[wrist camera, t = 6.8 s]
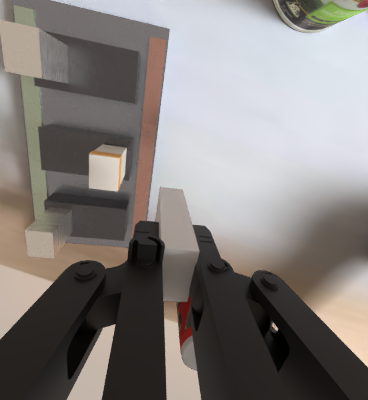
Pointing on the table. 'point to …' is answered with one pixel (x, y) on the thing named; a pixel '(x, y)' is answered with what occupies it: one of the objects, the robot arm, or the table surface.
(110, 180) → the handle
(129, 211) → the panel
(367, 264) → the table surface
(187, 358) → the canned food
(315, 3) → the coffee can
